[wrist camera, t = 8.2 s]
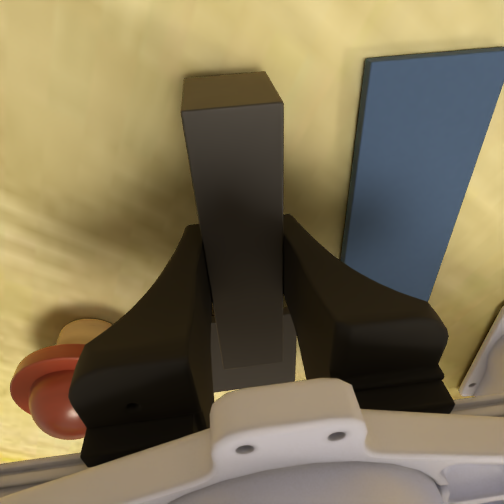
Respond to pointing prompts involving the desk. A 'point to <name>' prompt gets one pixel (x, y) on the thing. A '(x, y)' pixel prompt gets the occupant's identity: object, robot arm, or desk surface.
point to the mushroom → (54, 380)
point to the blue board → (416, 161)
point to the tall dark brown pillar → (241, 224)
